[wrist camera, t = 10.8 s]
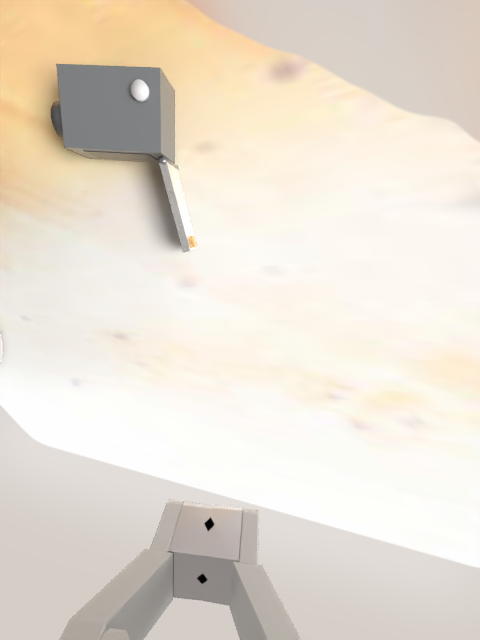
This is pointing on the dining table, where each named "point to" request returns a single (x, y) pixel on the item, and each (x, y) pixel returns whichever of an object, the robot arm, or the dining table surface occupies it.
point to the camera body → (115, 112)
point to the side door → (178, 204)
